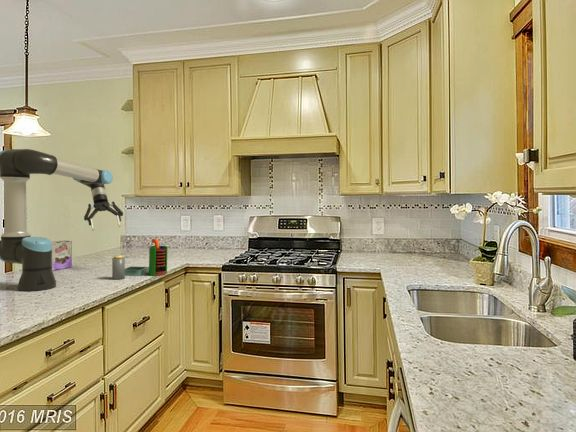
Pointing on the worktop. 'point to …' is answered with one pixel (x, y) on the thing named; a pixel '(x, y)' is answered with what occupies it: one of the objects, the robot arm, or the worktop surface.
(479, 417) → the worktop surface
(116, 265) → the grey cylindrical canister
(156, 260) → the motor
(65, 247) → the candy box
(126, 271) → the teal square tray
